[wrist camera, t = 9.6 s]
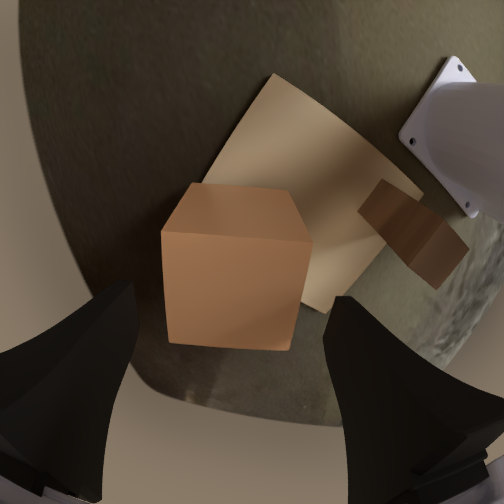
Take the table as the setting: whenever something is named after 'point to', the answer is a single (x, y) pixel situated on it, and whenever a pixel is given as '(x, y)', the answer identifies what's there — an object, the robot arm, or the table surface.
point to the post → (414, 233)
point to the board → (312, 180)
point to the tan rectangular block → (234, 267)
